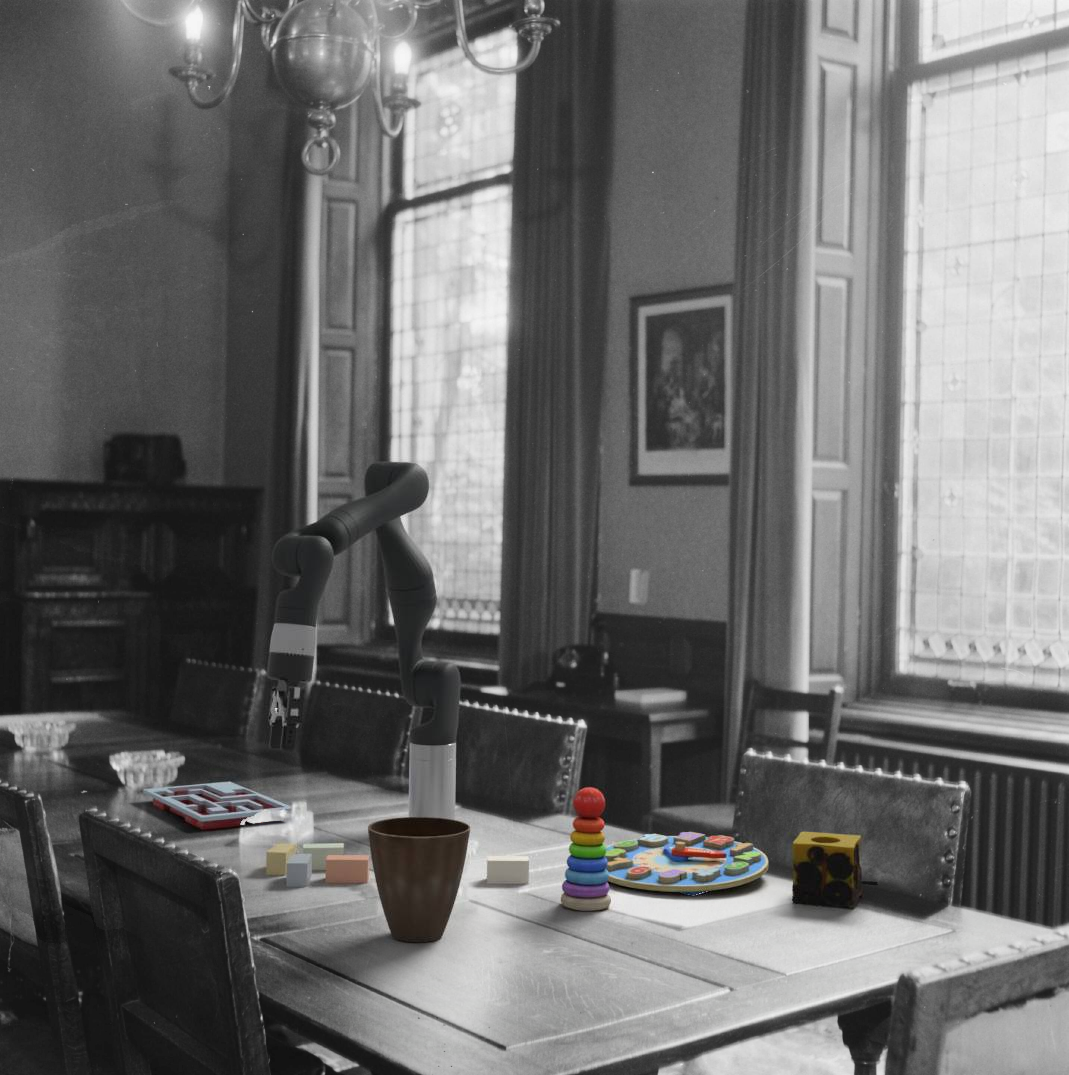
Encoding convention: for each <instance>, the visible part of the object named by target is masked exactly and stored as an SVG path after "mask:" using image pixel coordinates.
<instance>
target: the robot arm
mask: <svg viewBox="0 0 1069 1075" xmlns="http://www.w3.org/2000/svg"><path fill="white" fill-rule="evenodd" d="M363 483H364V485H363V489H364V495H365V496H364V497H361V498H358V499H354V500H351V501H348V502H346V503H343V504H340V505H339V506H337V507H335V508H334V509H332V510H330V511H329V512H328V513H326V514H325V515H324V516H322V517H321V518H319V519H318V520H317V521H315V522H313V523H310V524H307V525H304V526H301V527H299V528H297V529H294V530H291V531H290V532H287V533H286V534H285V535H283V536H281V537H280V538H279V539H278V541H276V543H275V545H274V546H273V548H272V551H271V562H272V565H273V568H274V569H275V570H276V571H277V572H278V573H279V574H281V575H283V576H285V577H289V578H290V577H291V578H292V577H293V578H295V577H296V578H297V577H298V581H297V583H296V585H295V586H294V587H293V588H288V589H285V590H282V591H280V593H278V596H277V600H276V605H275V616H274V621H273V622H274V623H273V627H272V628H273V629H272V632H271V636H270V642H269V643H270V644H269V654H268V662H267V670H266V678H268V679H270V680H274V681H275V680H276V681H278V683H277V685H276V686H272V688H271V694H270V702H269V710H268V716H267V719H268V722H269V725H270V732H269V733H270V734H269V743H268V746H269V748H270V749H274V750H275V749H277V750H283V751H290V752H291V751H294V750H295V746H296V739H297V738H296V736H297V731H298V730H297V729H298V728H299V726H300V724H302V722H303V711H304V702H305V701H304V699H305V693H306V690H305V687H303V686H302V687H301V686H300V683H310V682H311V681H312V679H313V671H314V663H315V662H314V661H315V655H316V654H315V652H316V645H317V634H316V633H317V632H316V631H317V629H316V627H317V623H318V622H317V620H318V611H319V605H320V601H321V598H322V597H323V594H324V591H325V589H326V585H327V584H328V580H329V578H330V575H331V573H332V570H333V566H334V558H335V557H336V556H338V555H340V554H341V553H344V552H345V551H346V550H348V548H350V547H351V546H352V545H353V544H355V543H356V542H358V541H359V540H361V539H362V538H364V537H365V536H366V535H368V534H369V533H371V532H373V531H374V532H375V534H376V539H377V542H378V546H379V550H380V555H381V561H382V565H383V566H382V567H383V572H384V577H385V584H386V591H387V595H388V602H389V607H390V608H391V609H390V610H391V615H392V619H393V624H394V625H393V626H394V630H395V636H396V637H395V638H396V642H397V643H396V644H397V652H398V663H399V675H400V676H399V677H400V683H401V689H402V695H403V697H404V700H405V701H406V703H407V704H408V705H410V706H411V707H417V708H429V709H434V712H433V716H432V718H431V719H430V720H428V721H427V722H425V723H421V724H417V725H415V726H413V727H411V728H410V731H409V764H408V766H409V767H408V768H409V771H408V772H409V773H408V776H409V777H408V779H409V780H408V817H434V818H445V819H452V820H456V787H457V786H456V783H457V782H456V781H457V780H456V778H457V777H456V774H457V771H456V770H457V769H456V768H457V766H456V765H457V757H456V756H457V735H458V734H457V733H458V730H459V729H458V728H459V718H460V703H461V702H460V700H461V689H462V688H461V686H462V684H461V683H462V681H461V674H460V670H459V668H458V666H457V665H456V664H455V663H453V662H449V661H448V662H446V661H430V660H429V661H428V660H425V659H424V657H423V656H424V655H423V650H422V639H423V636H424V633H425V630H426V628H427V626H428V624H429V622H430V621H431V618H432V616H433V615H434V614H433V613H434V612H435V609H436V606H437V601H438V598H437V589H436V584H435V579H434V578H435V576H434V573H433V569H432V566H431V564H430V563H429V561H428V559H427V558H426V556H425V555H424V554H423V553H422V550H420V548H419V547H418V546H417V544H416V543H415V542H414V540H412V538H411V537H410V535H409V534H408V532H407V530H406V528H405V526H404V524H403V522H402V518H401V517H402V516H404V515H406V514H409V513H412V512H414V511H415V510H417V509H419V508H421V507H422V506H423V504H424V503H425V501H426V500H427V497H428V494H429V489H430V481H429V477H428V473H427V471H426V469H425V468H424V467H423V466H421V465H420V464H418V463H414V462H407V461H404V462H403V461H402V462H401V461H375V462H373V463H370V464H369V465H368V467H367V469H366V471H365V474H364V481H363Z"/></svg>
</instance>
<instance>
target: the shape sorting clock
mask: <svg viewBox="0 0 1069 1075" xmlns="http://www.w3.org/2000/svg"><path fill="white" fill-rule="evenodd" d="M606 849H607V851H606V854H605V856H604V857H605V858H606V859H607V861H608V865H607V867H606V869H607V871H608V872H609V878H608V880H607V881H606V882H609V883H612V884H615V885H619V886H621V887H628V888H633V889H638V890H646V891H655V892H657V891H658V892H671V893H674V892H675V893H678V892H682V893H685V894H684V895H687V894H690V895H689V896H691V895H696V894H699V893H702V892H706V891H709V892H711V891H710V890H712V891H717V890H723V889H729V888H734V887H738V886H742V885H745V884H748V883H750V882H753V881H755V880H757V879H759V878H761V877H762V876H764V875H765V874H766V873H767V872H768V870H769V859H768V856H767V855H766V854H765V853H764V852H763V851H761V850H760V849H758V848H756V847H754V844H753V843H750V842H744V843H742V842H739V841H735V838H734V837H732V836H728V835H727V836H726V835H722V834H721V835H720V834H719V835H711V836H706V834H704V833H700V832H694V831H688V832H687V831H686V832H685V831H682V832H680V833H679V834H678V835H663V834H658V833H651V834H649V833H646V834H643V835H642V837H640V838H635V839H630V840H624V841H620V842H616V843H612V844H610V845H607V846H606ZM682 893H681V894H682ZM706 893H707V892H706ZM702 894H703V893H702ZM699 895H700V894H699ZM696 896H697V895H696Z"/></svg>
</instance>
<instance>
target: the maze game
mask: <svg viewBox="0 0 1069 1075" xmlns="http://www.w3.org/2000/svg"><path fill="white" fill-rule="evenodd" d="M142 794H145V795H147V796H149V798H152V806H154V805H155V806H154V807H156V806H157V807H156V808H158V807H159V808H158V809H160V810H162V809H163V810H162V811H169V812H171V813H173V814H175V815H177V816H180V817H182V818H184V822H186V823H188V824H190V825H192V826H194V827H196V828H199V829H200V830H203V831H204V830H213V829H214V830H215V829H223V828H233V827H234V828H235V827H241V826H240V823H241V821H242V820H243V819H246V818H247V817H251V816H254V815H255V814H256V813H258V812H260V811H261V810H264V809H268V810H282V809H285V810H289V811H290V810H291V807H292V806H291V805H288V804H286V803H283V802H281V801H279V800H276V799H273V798H272V797H269V796H266V795H263V794H261V793H260V792H257V791H254V790H252V789H249V788H247V787H244V786H241V785H240V784H237V783H235V782H232V781H221V782H211V783H199V784H197V783H196V784H189V785H188V784H187V785H177V786H175V785H174V786H165V787H152V788H143V789H142Z"/></svg>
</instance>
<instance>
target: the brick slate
mask: <svg viewBox="0 0 1069 1075" xmlns="http://www.w3.org/2000/svg"><path fill="white" fill-rule="evenodd" d="M312 872H313V870H312V854H303V853H297V854H291V856H290V858H289V860H288V862H287V870H286V875H285V876H286V878H285V879H286V881H285V882H286V884H285V886H286V888H287V887H291V888H297V887H299V888H300V887H301V888H304V887H305V888H306V887H308V885H309V883H310V880H311V879H312V874H313V873H312Z"/></svg>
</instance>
